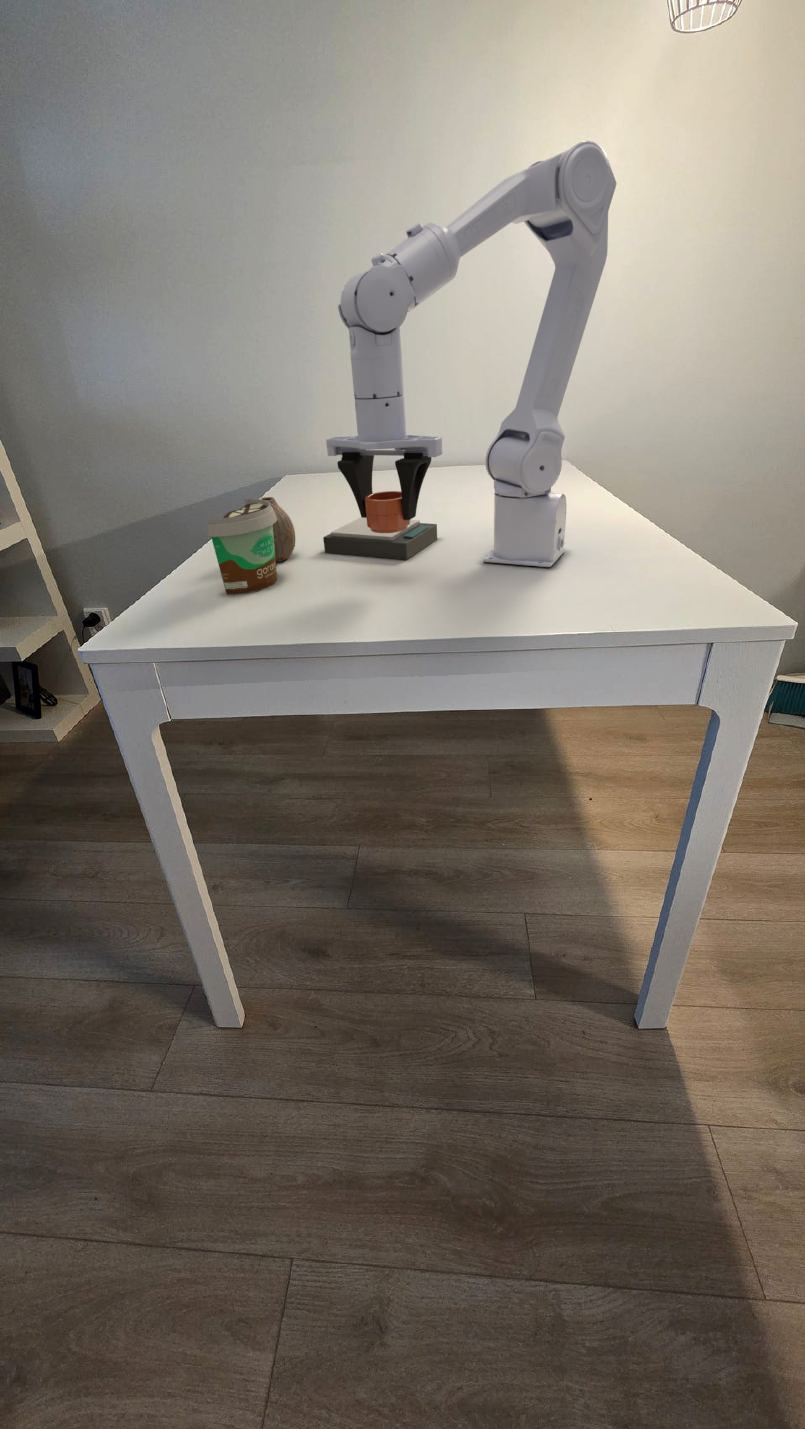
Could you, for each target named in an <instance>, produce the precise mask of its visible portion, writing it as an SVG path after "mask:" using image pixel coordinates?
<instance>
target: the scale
mask: <svg viewBox="0 0 805 1429" xmlns="http://www.w3.org/2000/svg"><path fill="white" fill-rule="evenodd" d="M322 540H323V547H324V553H325V554H333V555H335V554H336V555H345V556H346V555H347V556H358V557H369V558H382V559H391V560H392V559H393V560H402V561H404V560H405V561H408V560H409V559H410V558H412V557H414V556H415V555H417V554H418V553H419V552H421V551H423V550H424V549H425V548H426V547H428V546H429V545H432V544H433V543H435V541H437V540H438V524H437V523H428V522H420V519H410V524H409V525H408V528H407V529H405V530H403V531H400V532H395V533H376V532H372V531H371V530H370V528H369V527H367V518H362V517H361V516H360V517H359V518H356V519H354V520H353V521H351V522H348V523H347V524H344V525H343V526H341V527H338V528H337V529H335V530H333V531H330V533H329V534H327V535H325V536H323V537H322Z"/></svg>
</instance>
